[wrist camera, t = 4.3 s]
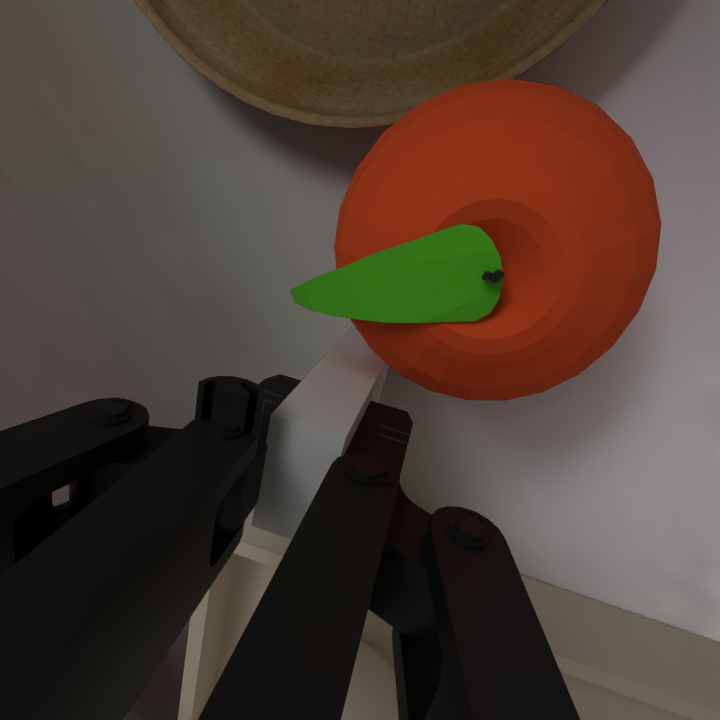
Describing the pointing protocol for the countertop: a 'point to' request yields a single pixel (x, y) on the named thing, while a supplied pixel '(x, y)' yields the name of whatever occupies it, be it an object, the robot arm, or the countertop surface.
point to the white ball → (371, 688)
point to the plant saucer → (361, 49)
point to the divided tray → (556, 615)
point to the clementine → (494, 240)
